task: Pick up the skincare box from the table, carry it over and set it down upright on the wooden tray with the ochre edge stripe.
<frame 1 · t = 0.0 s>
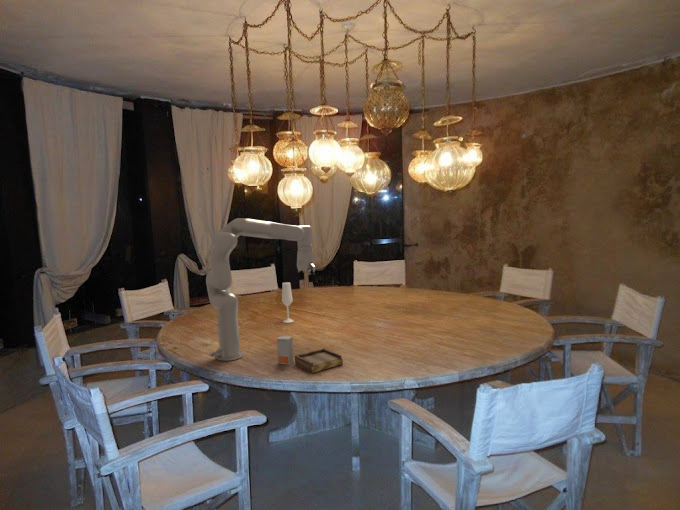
hand: (306, 280, 248), 31 cm above the table, fingers open, 9 cm apart
champagne flute: (288, 321, 290), on the table
wooden tray: (318, 364, 210), on the table
skincare box: (285, 363, 214), on the table
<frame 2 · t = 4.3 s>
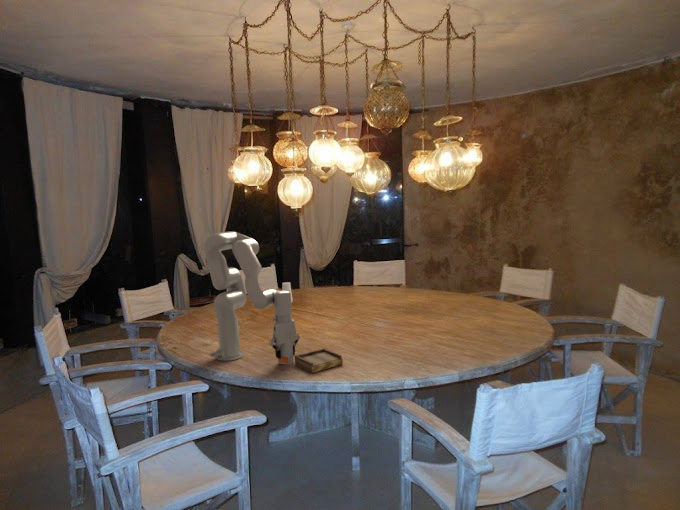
hand: (285, 356, 214), 3 cm above the table, fingers closed on skincare box, 6 cm apart
skincare box: (285, 363, 214), on the table, touching gripper
everything else where it was.
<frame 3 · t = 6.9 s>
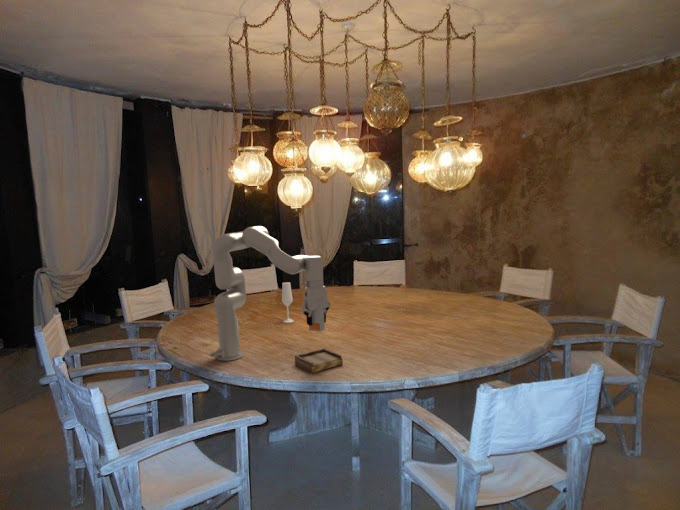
hand: (316, 323, 208), 19 cm above the table, fingers closed on skincare box, 6 cm apart
skincare box: (316, 330, 209), point 16 cm above the table, touching gripper
everything else where it was.
when the fingers open (7 cm above the table, at t = 9.9 s): skincare box stays where it is, resting on wooden tray.
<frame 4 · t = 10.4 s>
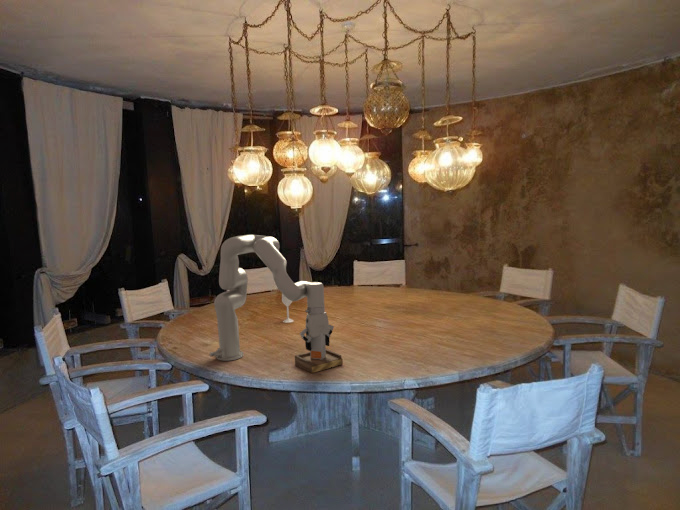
hand: (317, 347, 209), 8 cm above the table, fingers open, 9 cm apart
skincare box: (318, 358, 210), point 3 cm above the table, touching wooden tray
everything else where it was.
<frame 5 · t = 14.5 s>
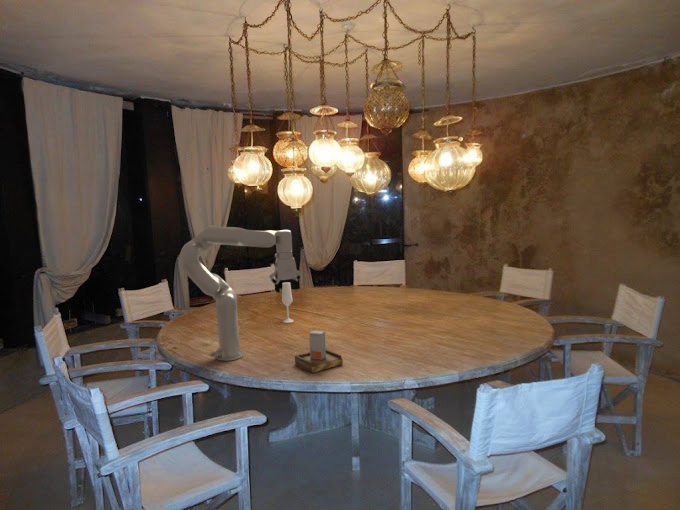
hand: (286, 290, 228), 30 cm above the table, fingers open, 9 cm apart
nothing on the table moved.
at the end: skincare box inside the target area on the wooden tray (0.1 cm from its centre), point 2.8 cm above the wooden tray's base; skincare box tilted 0°; the gripper is holding nothing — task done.
